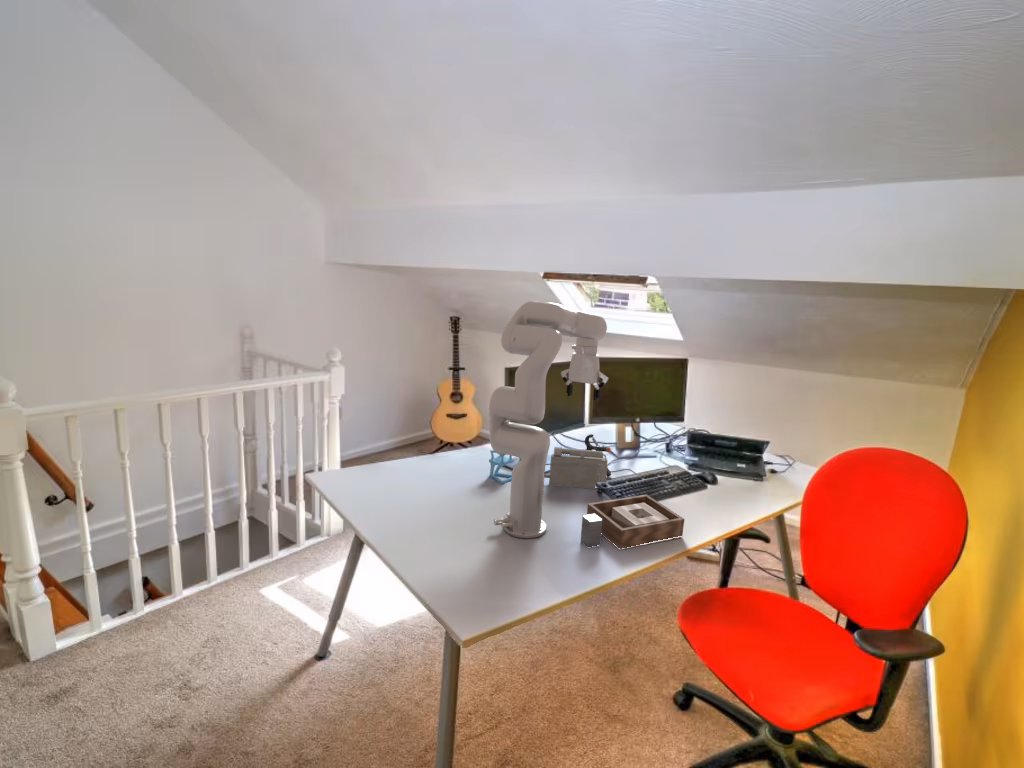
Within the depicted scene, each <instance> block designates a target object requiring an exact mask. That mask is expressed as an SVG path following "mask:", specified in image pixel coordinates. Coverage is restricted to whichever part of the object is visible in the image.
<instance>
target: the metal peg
mask: <svg viewBox="0 0 1024 768" xmlns="http://www.w3.org/2000/svg"><path fill="white" fill-rule="evenodd" d="M601 529H602V519H601V518H599V517H598V516H597V515H596V514H590V515H587V514H584V515H582V520H581V531H580V532H581V533H580V543H582V544H583V543H584V544H585V545H586V546H587V547H591V548H593V547H592V546H596V547H598V546H597V545H600V546H601V540H602V538H601V536H602V535H601ZM584 544H583V545H584ZM585 545H584V546H585ZM586 546H585V547H586ZM587 547H586V548H587Z"/></svg>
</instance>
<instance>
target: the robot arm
mask: <svg viewBox="0 0 1024 768" xmlns="http://www.w3.org/2000/svg"><path fill="white" fill-rule="evenodd" d="M607 330H608V325H607V322H606V320H605V318H604V317H602V316H600V315H598V314H595V313H589V312H585V311H581V310H577V309H573V308H570V307H567V306H565V305H564V304H563V305H562V304H559V303H556V302H549V301H548V302H547V301H536V300H535V301H533V300H528V301H526V302H524V303H522V305H521V306H520V307H519V308H517V310H516V311H515V312H514V314H513V315H512V317H511V318H510V320H509V321H508V323H507V324H506V326H505V327H504V329H503V331H502V333H501V338H500V339H501V340H500V341H501V347H502V349H503V350H504V351H505V352H507V353H508V354H513V355H519V356H527V358H525V360H524V361H522V362H521V364H520V365H519V366H518V368H517V369H516V370H515V373H514V374H515V375H514V386H506V385H501V386H499V387H497V388H496V389H494V391H493V392H492V394H491V395H490V399H489V405H488V406H489V407H488V410H489V411H488V413H489V414H488V418H489V445H490V447H491V449H492V450H494V451H496V452H498V453H502V454H506V455H505V456H507V455H508V456H510V455H511V456H512V457H516V458H519V459H520V460H519V462H518V463H517V464H516V465H515V466H513V469H512V470H511V475H512V477H511V481H510V484H511V485H510V499H509V500H510V502H509V512H506V516H505V515H504V516H503V517H499V518H494V519H493V524H494V526H496V527H497V526H501V528H502V529H503V530H505V532H506V533H507V534H508V535H510V536H513V537H516V538H520V539H535V538H539V537H541V536H542V535H544V534H545V533H546V532H547V524H546V523H545V521H544V520H543V519H542V518H543V516H542V515H543V505H544V504H543V502H544V489H545V488H544V487H545V486H544V485H545V478H544V474H546V473H545V472H546V466H547V465H546V464H547V458H548V454H549V450H550V446H551V436H550V435H549V432H547V431H546V429H543V428H541V427H538V426H534V425H537V424H540V423H541V422H542V421H543V420H544V418H545V413H546V386H547V385H546V383H547V381H546V380H547V375H548V371H549V369H550V368H551V365H552V364H553V363H554V360H555V359H556V357H557V355H558V353H559V352H560V350H561V348H562V347H561V346H562V343H563V336H567V337H571V338H575V344H574V345H573V344H572V345H571V350H574V352H572V355H571V359H570V362H569V363H570V365H569V367H568V369H564V370H562V371H561V372H560V375H561V377H562V381H564V383H565V385H566V394H567V397H571V396H573V388H574V384H573V382H575V383H582V384H589V385H591V384H592V385H593V386H594V388H595V389H594V390H593V401H597V400H598V399H599V398H600V396H601V395H600V394H601V393H600V391H601V389H602V387H604V386H605V385H606V383H608V381H609V379H610V378H609V377H608V376H607V375H605V374H604V373H602V372H601V371H600V355H599V354H598V345H599V344H598V343H599V341H600V340H602V339H603V338H604V337H605V335H606V333H607ZM567 374H568V376H567ZM600 378H601V379H602V381H601V382H599V380H600ZM498 453H497V454H498Z"/></svg>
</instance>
